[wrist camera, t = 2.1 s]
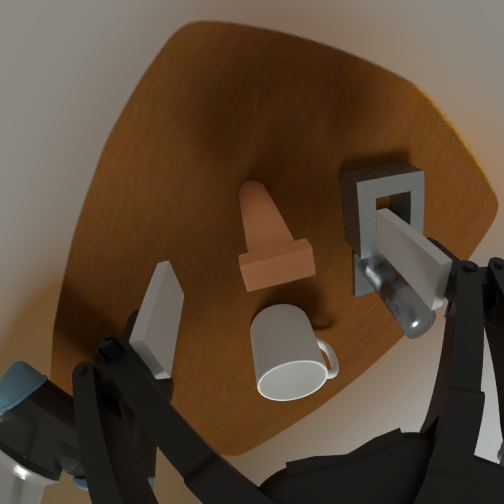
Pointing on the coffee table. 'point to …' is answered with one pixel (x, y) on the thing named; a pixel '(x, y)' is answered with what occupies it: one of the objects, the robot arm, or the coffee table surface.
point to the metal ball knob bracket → (365, 237)
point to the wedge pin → (269, 242)
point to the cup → (288, 354)
